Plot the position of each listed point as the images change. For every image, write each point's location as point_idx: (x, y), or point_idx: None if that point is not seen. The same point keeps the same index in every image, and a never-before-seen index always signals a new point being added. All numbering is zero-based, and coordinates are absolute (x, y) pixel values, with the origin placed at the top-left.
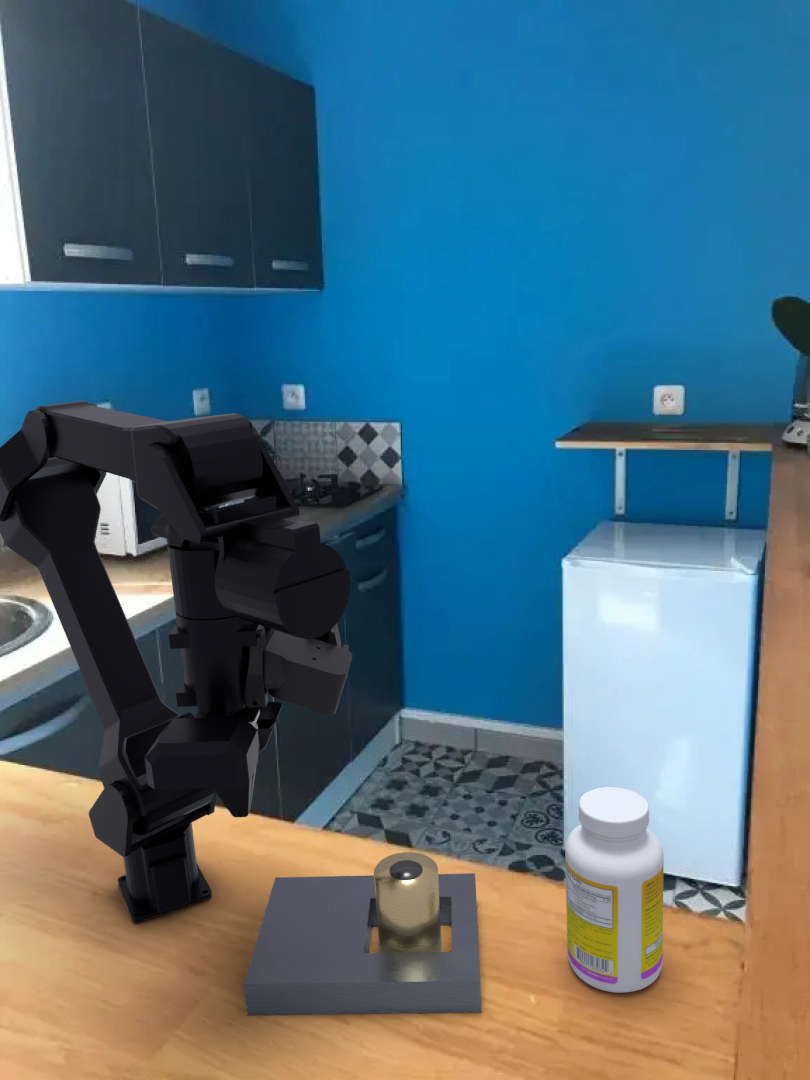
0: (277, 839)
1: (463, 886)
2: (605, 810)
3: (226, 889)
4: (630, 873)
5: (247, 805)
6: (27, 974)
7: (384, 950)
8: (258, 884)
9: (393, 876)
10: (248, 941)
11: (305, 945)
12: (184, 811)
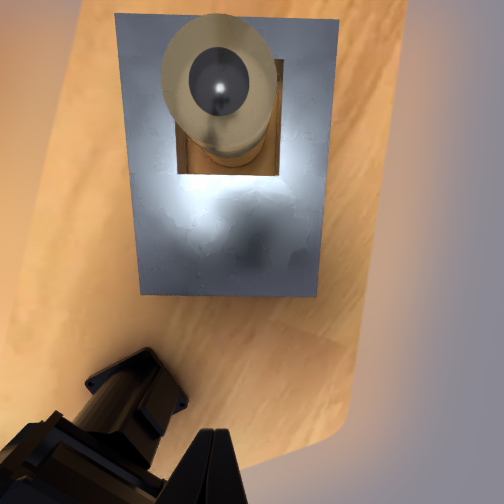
0: (37, 300)
1: (147, 35)
2: None
3: (132, 335)
4: None
5: (237, 463)
6: (249, 455)
7: (252, 156)
8: (122, 306)
9: (237, 107)
10: (211, 300)
11: (262, 244)
12: (105, 477)
